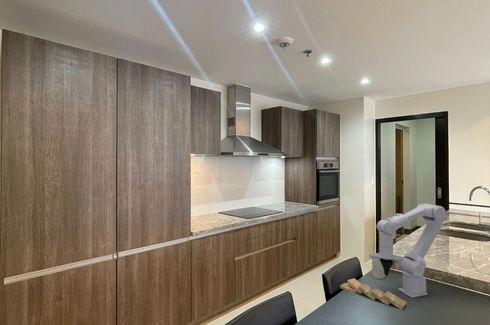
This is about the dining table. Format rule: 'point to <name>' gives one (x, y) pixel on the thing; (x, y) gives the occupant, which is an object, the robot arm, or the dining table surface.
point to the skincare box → (377, 269)
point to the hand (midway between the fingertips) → (386, 274)
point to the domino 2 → (354, 284)
